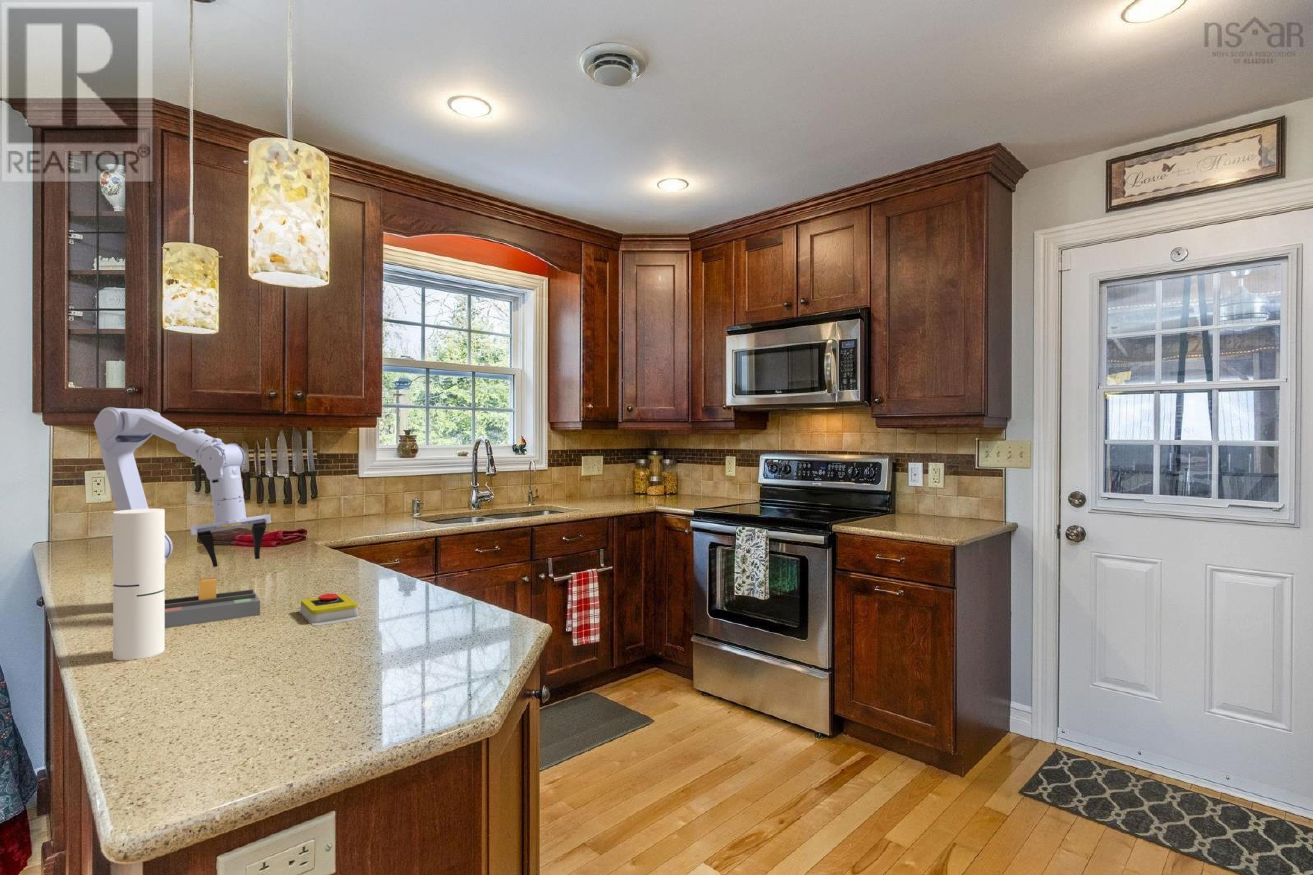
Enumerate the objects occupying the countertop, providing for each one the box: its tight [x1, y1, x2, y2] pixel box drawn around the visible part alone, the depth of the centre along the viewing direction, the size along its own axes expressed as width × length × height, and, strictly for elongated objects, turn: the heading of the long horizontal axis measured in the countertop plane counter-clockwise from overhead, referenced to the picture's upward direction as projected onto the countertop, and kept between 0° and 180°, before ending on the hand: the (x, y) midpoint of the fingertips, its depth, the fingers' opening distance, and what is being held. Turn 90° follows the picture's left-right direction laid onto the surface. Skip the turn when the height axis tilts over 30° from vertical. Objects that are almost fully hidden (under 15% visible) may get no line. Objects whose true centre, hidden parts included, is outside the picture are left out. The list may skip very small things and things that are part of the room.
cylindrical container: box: [112, 508, 166, 661], centre depth 117 cm, size 7×7×25 cm
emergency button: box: [298, 593, 362, 627], centre depth 142 cm, size 9×4×15 cm
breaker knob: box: [197, 576, 217, 600], centre depth 141 cm, size 3×3×4 cm
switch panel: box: [165, 588, 261, 629], centre depth 141 cm, size 12×18×4 cm, turn 127°
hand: (236, 562), depth 143 cm, fingers open, 7 cm apart
